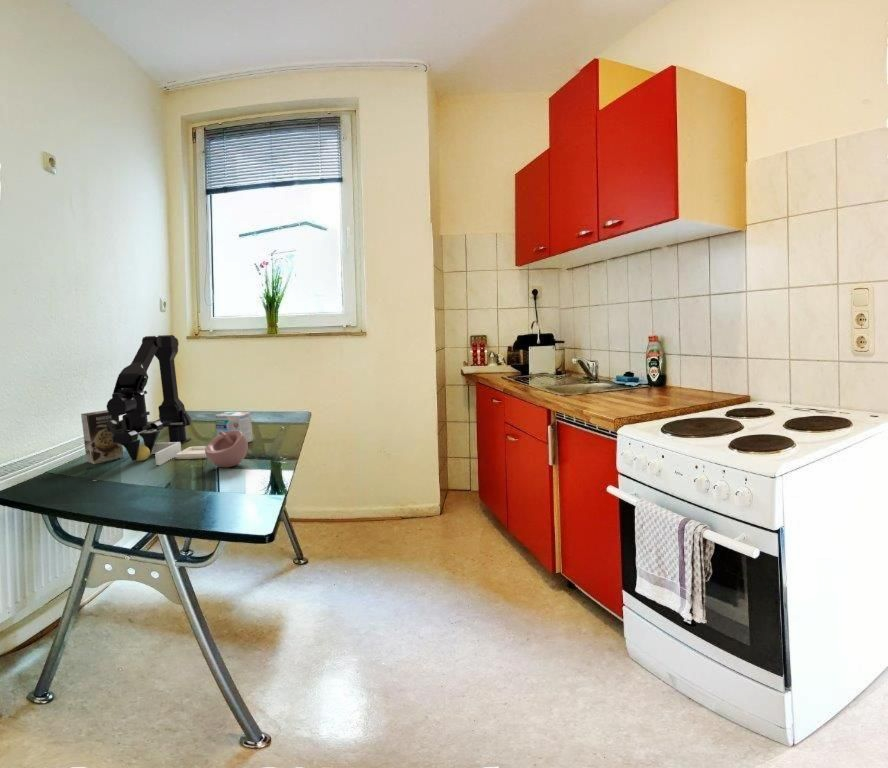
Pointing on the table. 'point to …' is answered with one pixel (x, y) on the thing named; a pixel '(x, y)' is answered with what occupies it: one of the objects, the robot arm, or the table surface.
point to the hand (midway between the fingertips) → (141, 457)
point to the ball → (143, 453)
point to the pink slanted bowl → (227, 449)
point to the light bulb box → (235, 423)
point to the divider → (165, 451)
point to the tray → (192, 453)
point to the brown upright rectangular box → (99, 437)
